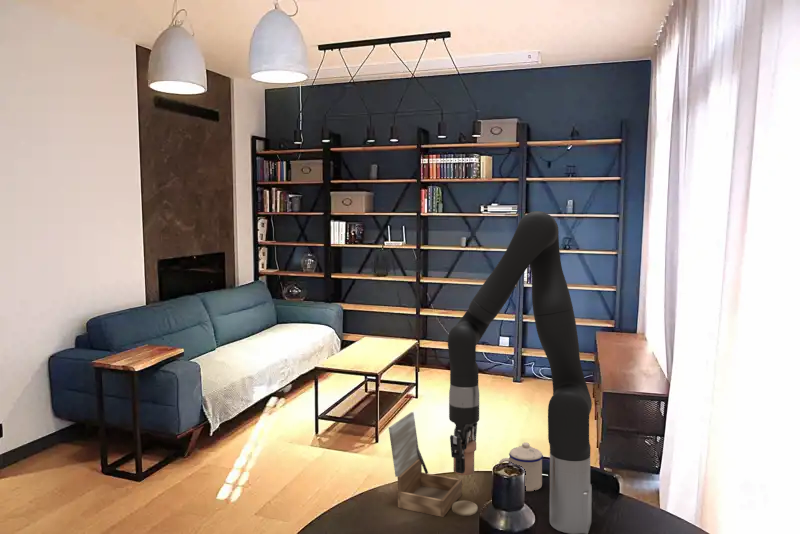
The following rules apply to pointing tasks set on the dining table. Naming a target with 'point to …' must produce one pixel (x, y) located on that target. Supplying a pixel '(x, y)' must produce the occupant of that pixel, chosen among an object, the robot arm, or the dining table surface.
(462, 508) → the coaster
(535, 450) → the teacup with lid
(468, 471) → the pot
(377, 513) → the dining table surface
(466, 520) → the dining table surface
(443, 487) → the cold frame
